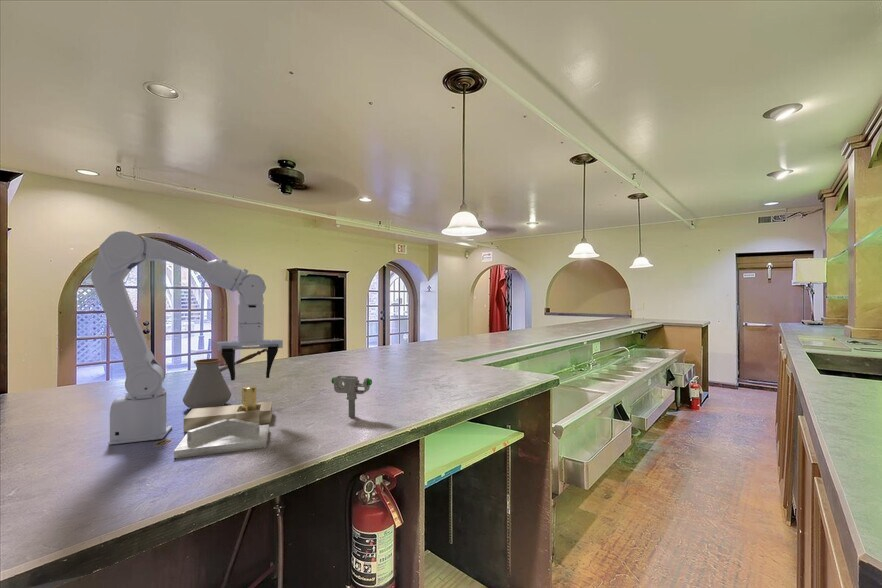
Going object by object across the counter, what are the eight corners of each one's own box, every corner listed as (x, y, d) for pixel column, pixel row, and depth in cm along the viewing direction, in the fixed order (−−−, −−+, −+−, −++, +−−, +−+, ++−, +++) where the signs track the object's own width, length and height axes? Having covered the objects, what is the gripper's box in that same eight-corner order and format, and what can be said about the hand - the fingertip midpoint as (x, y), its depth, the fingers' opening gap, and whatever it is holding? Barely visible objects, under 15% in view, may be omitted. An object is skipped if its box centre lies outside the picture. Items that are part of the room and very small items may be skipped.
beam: (183, 431, 89) (183, 418, 89) (192, 421, 96) (192, 408, 96) (270, 422, 95) (270, 410, 95) (272, 413, 103) (272, 401, 103)
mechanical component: (368, 419, 97) (368, 379, 97) (330, 417, 99) (330, 377, 99) (372, 416, 100) (372, 377, 100) (335, 413, 102) (335, 375, 102)
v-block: (173, 458, 75) (173, 437, 75) (187, 440, 84) (187, 421, 84) (266, 447, 80) (266, 427, 80) (269, 431, 90) (269, 413, 89)
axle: (241, 422, 95) (241, 389, 95) (242, 418, 98) (242, 386, 98) (255, 421, 96) (255, 388, 96) (257, 417, 99) (257, 385, 99)
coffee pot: (182, 416, 100) (182, 357, 100) (182, 405, 110) (182, 351, 110) (272, 403, 112) (272, 350, 112) (265, 394, 121) (265, 346, 121)
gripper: (214, 325, 90) (214, 384, 90) (282, 323, 96) (282, 379, 96) (219, 322, 97) (218, 378, 97) (282, 321, 103) (282, 373, 103)
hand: (250, 378), depth 97 cm, fingers open, 7 cm apart
